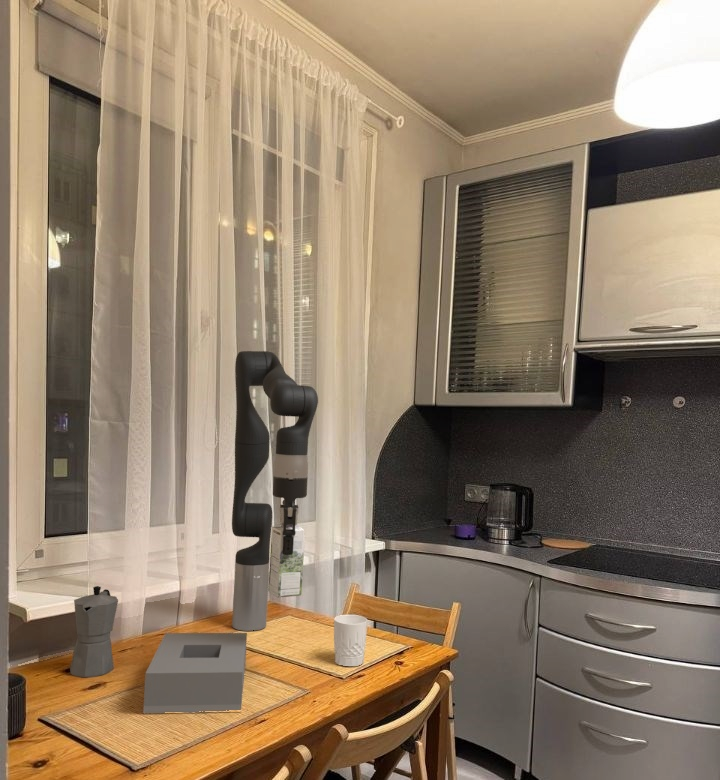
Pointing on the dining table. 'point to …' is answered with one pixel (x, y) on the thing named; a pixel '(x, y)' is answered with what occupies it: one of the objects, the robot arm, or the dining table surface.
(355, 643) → the white cup
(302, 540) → the syrup box
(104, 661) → the coffeepot
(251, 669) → the dining table surface
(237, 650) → the post block
